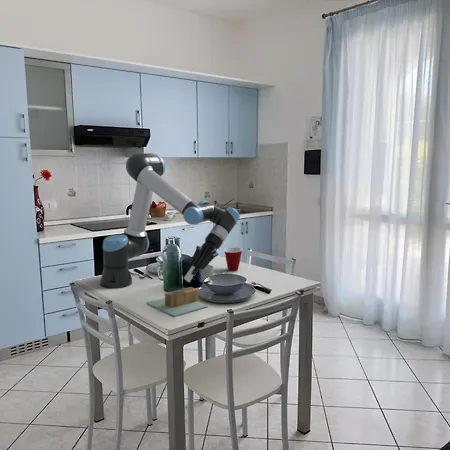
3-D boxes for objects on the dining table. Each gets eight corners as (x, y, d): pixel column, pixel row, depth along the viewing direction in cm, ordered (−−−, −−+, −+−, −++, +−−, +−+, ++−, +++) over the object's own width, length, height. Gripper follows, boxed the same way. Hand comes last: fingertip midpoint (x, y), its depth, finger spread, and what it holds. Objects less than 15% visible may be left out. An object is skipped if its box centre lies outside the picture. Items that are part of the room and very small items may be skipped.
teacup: (202, 277, 221) (202, 262, 220) (218, 281, 214) (218, 265, 213) (183, 282, 210) (183, 267, 209) (199, 287, 203) (199, 271, 202)
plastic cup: (220, 267, 240) (220, 247, 239) (238, 266, 244) (238, 246, 242) (226, 272, 230) (226, 251, 228) (244, 271, 233) (245, 250, 232)
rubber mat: (146, 303, 179) (146, 302, 179) (178, 295, 190) (178, 294, 190) (174, 317, 165) (174, 315, 164) (207, 307, 176) (207, 305, 176)
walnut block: (191, 297, 186) (164, 304, 176) (191, 286, 185) (164, 293, 175) (198, 300, 182) (171, 307, 173) (198, 289, 181) (171, 296, 172)
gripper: (230, 244, 186) (201, 288, 177) (211, 240, 195) (182, 281, 186) (221, 234, 181) (191, 278, 173) (202, 230, 191) (172, 272, 182)
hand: (186, 280), depth 179 cm, fingers closed
